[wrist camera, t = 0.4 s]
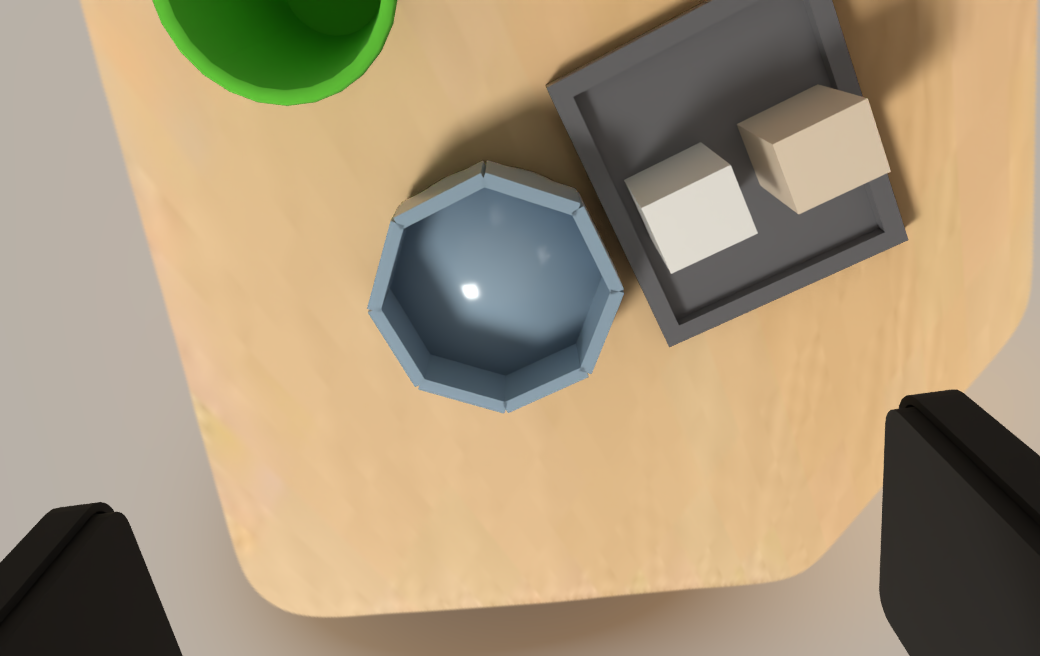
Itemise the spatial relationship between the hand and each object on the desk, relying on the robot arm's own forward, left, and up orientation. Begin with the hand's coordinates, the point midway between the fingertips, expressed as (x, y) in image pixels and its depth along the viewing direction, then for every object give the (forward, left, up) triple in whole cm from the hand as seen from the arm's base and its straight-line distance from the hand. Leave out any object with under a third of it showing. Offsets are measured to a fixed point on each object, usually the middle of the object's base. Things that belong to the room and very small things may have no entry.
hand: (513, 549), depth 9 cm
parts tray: (+7, +10, -34) cm, 36 cm away
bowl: (+7, -4, -34) cm, 35 cm away
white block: (+7, +6, -33) cm, 34 cm away
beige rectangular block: (+7, +13, -33) cm, 36 cm away
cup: (-10, -4, -34) cm, 36 cm away
